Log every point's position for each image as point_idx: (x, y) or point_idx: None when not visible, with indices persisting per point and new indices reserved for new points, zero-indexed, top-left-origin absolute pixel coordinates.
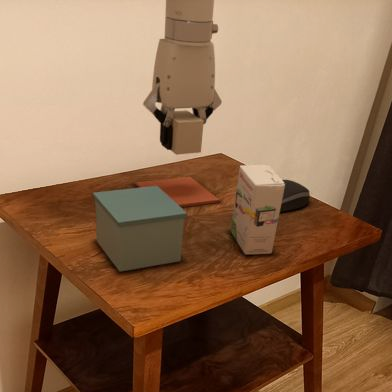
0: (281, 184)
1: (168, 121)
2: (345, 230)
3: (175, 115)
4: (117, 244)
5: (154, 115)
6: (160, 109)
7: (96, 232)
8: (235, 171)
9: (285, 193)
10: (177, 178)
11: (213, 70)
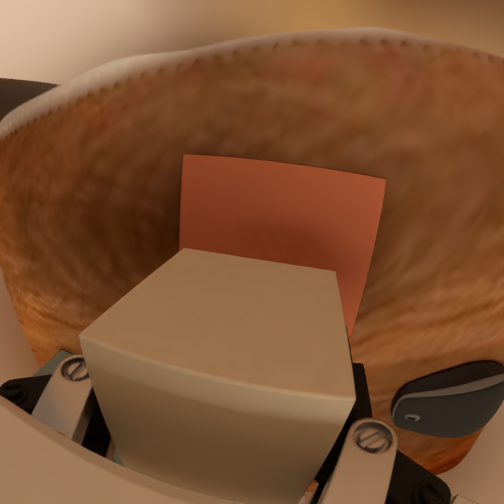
0: None
1: (103, 434)
2: (429, 465)
3: (154, 441)
4: None
5: (28, 386)
6: (37, 404)
7: (53, 357)
8: None
9: (438, 433)
10: (333, 176)
11: None
